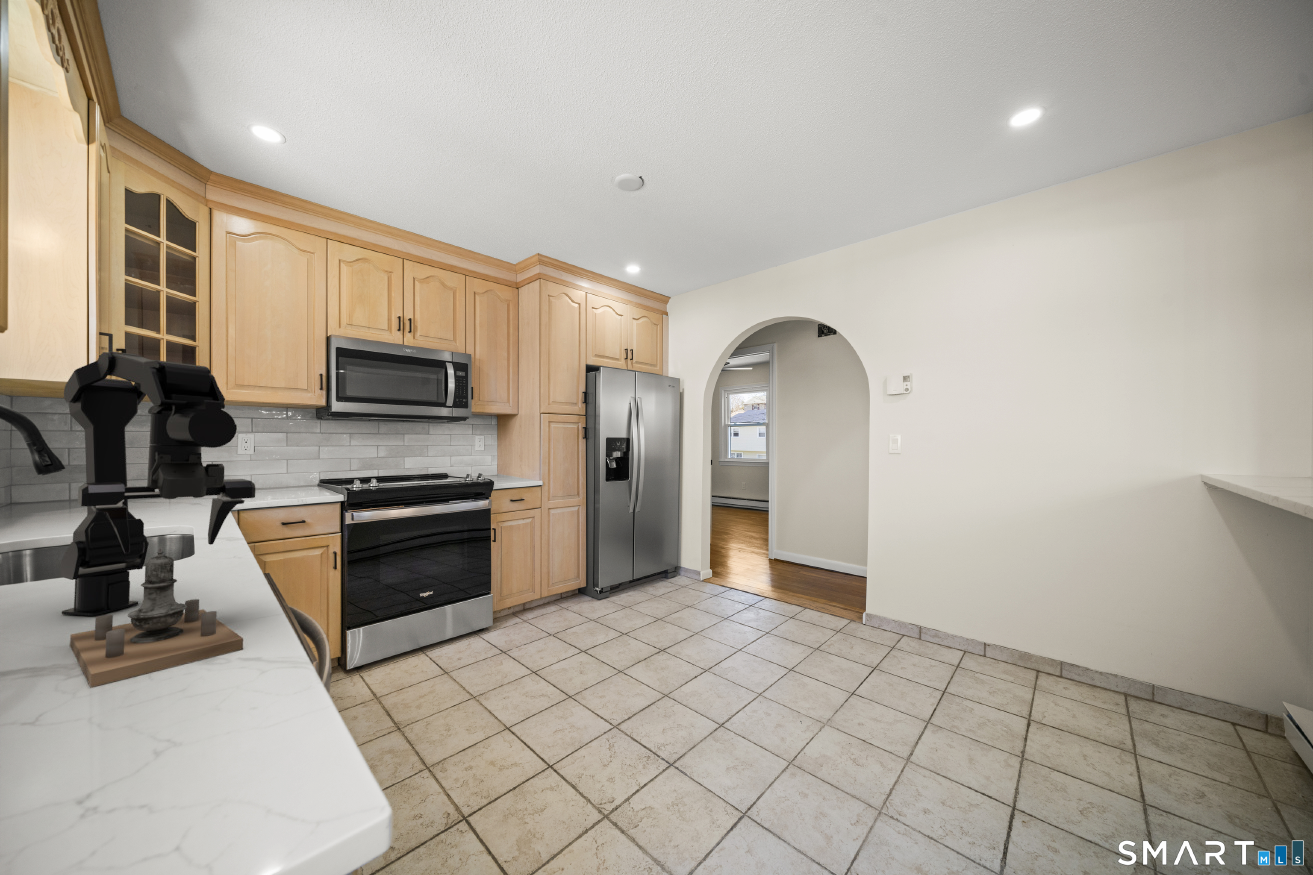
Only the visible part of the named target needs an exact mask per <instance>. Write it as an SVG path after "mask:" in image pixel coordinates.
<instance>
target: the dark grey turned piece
mask: <svg viewBox="0 0 1313 875" xmlns="http://www.w3.org/2000/svg"><path fill="white" fill-rule="evenodd" d="M156 553H157V555H155V556H153V557H151V558H149V559H148V560H147V561H145V563H144V565H145V566H144V582H142V583H141V584H140V587H143V596H142V597H143V598H142V603H141V605H140V606H139V608H137V609H136V610H132V611H130V612H129V613H128V614H127V617H128V618H130V623H132V625H133V627H135V628H136V629H138V630H140V631H144V632H141V633H139V634H137V635H135V636H134V637H132V638H131V639H130V642H131V643H149V642H156V641H161V640H165V639H169V638H172V637H175V636H178V635H180V634H182V633H183V629H181V628H178V627H170V626H173V625H175V624H176V623H177V622H178V621H179V620H180V619H181V618H182V616H183V614H184V613H185V609H186V608H187V605H186V604H185V603H179V602H177V601H176V598H175V595H174V594H175V592H174V591H175V590H174V588H175V583H177V582H178V580H177V579H176V578H174V572H175V571H174V570H175V569H174V568H175V567H174V566H175V560H174V558H173V557H171V556H169V555H165V554H163V553H164V551H163V550H162V549H161V548H160V549H159V550H158V551H157V552H156Z"/></svg>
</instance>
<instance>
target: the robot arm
mask: <svg viewBox="0 0 1313 875" xmlns="http://www.w3.org/2000/svg"><path fill="white" fill-rule="evenodd" d="M108 376H109V377H116V378H118V379H115V378H107V377H108ZM63 396H64V397H63V398H64V401H65V402H66V403H68V410H69V411H68V412H69V415H70V417H71V418H73V420H75V421H76V422H77V423H78V425H79V426H80V427H82V428H83V431H84V445H85V446H84V447H85V448H84V449H85V450H84V452H85V479H86V482H84V483H83V484H81V485H80V486H79V487H78V491H77V504H79V506H80V507H86V510H87V511H86V512H87V514H86V516H85V517H84V519H83V520H82V521H81V522H80V523H79V525H78V526H77V527H76V529H75V530H74V531H73V534H72V541H71V542H70V544H69V545H68V548H66V551H65V554H64V555H63V557H62V559H61V560H60V562H59V573H60V577H61V578H64V579H68V580H72V581H73V580H74V601H73V604H74V605H73V607H72V608H68V609H64V610H62V611H61V614H62V615H69V616H70V615H71V616H74V615H75V616H87V617H89V616H90V617H96V616H101V615H104V614H106V613H110V612H114V611H118V610H122V609H125V608H130V607H133V606H134V607H135V606H137V605H139V604H140V603H139V601H138V600H136V601H135V600H130V597H131V596H130V593H131V590H130V589H131V581H130V571H135V570H138V571H139V570H143V568H144V565H145V563H146V557H147V552H148V547H149V546H150V545H149V544H150V542H149V541H148V539H147V536H146V535H145V533H144V531H145V523H144V522H143V520H142V518H136V517H135V515H134V514H132V513H131V511H130V510H129V500H138V499H140V500H141V499H142V500H143V499H160V498H162V499H165V500H175V499H178V498H194V499H196V498H199V499H200V498H204V497H207V496H209V497H210V496H216V497H215V498H214V497H213V498H212V499H211V500H212V501H211V507H210V516H209V522H208V524H209V525H208V531H207V538H208V539H207V543H208V544H209V545H210V546H211V545H213V544H214V543H215V542H216V539H217V537H218V535H219V532H220V531H221V529H222V526H223V525H224V523H225V520H226V519H227V517H228V516H229V514H230V513H231V512H232V510H234V508H235V507H236V506H237V505H243V504H244V503H245V501H246V500H243V499H255V498H256V485H255V483H254V482H253V481H252V480H250V479H246V478H232V479H231V478H227V479H225V466H224V464H223V463H207V464H206V465H203V462H202V460H203V458H202V448H210V449H214V448H215V449H216V448H221V447H224V446H226V445H227V444H229V443H231V441H232V440H233V439H234V438H235V436H236V434H237V431H238V430H237V428H238V426H237V424H236V422H235V419H234V418H233V416H232V415H231V414H230V413H229V412H227V411H225V408H226V404H225V401H226V398H225V396H224V395H223V393H222V391H221V389H220V387H219V385H218V383H217V380H216V377H215V375H213V374H212V371H211V369H210V368H209V367H207V366H205V365H197V364H196V365H195V364H189V363H180V362H173V361H166V360H158V359H155V360H154V359H149V358H147V357H144V356H142V355H140V354H134V353H126V352H125V353H124V352H119V351H118V352H117V351H108V352H106V351H105V352H102V353H101V354H100V356H99V357H98V358H97V359H96V360H95V361H93V362H90V363H88V364H86V365H83V366H81V367H79V368H76V369H75V370H74V371H73V372H72V374H71V376H70V377H69V378H68V380H67V382H66V383H65V385H64V389H63ZM146 396H147V398H148V399H149V401H150V402H151V404H152V406H150V407H149V409H148V410H147V413H148V415H150V424H149V425H150V426H149V427H150V428H149V446H148V447H149V448H148V466H147V479H146V480H147V481H146V482H147V483H146V485H144V486H142V485H141V486H128V474H127V472H128V471H127V470H128V468H127V448H126V447H127V446H126V444H127V443H126V427H127V426H128V424H130V422H131V421H132V420H133V418H134V417H136V415H137V414H138V410H139V406H140V404H141V403H142V401H143V400H144V399H145V397H146ZM80 568H81V569H80Z"/></svg>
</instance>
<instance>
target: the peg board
mask: <svg viewBox="0 0 1313 875" xmlns="http://www.w3.org/2000/svg"><path fill="white" fill-rule="evenodd" d="M184 604H186V605H187V608H186V609H184V614H183V616H182V618H181V619H180V620H179V621H178V622H177V623H176V624H175V625H173V626H170V627H178V628H181V629H183V633H182V634H180V635H178V636H175V637H172V638H169V639H165V640H161V641H156V642H149V643H131V642H130V639H131V638H132V637H134V636H135V635H137V634H139V633H141V632H144V631H140V630H138V629H136V628H135V627H133V625H132V623H131V622H130V623H124V624H120V625H114V624H113V619H114V615H113V614H111V613H110V614H101V615H97V616H95V621H94V622H95V625H94V629H93V630H92V629H91V630H87V631H82V632H77V633H71V634H70V638H69V639H70V640H69V646H70V648H71V650H72V652H73V654H74V657H75V658H76V661H77V662H78V664H79V667H80V669H81V671H82V673H83V675H84V676H85V679H86V681H87V682H88V684H89V687H90V688H93V687H97V686H98V687H99V686H101V685H106V684H109V683H113V682H118V681H121V680H125V679H126V680H127V679H129V678H130V679H131V678H133V677H138V676H141V675H145V674H149V673H153V672H157V671H162V670H165V669H169V668H174V667H177V666H181V665H185V664H190V663H194V662H198V661H202V660H206V659H209V658H214V657H217V656H221V655H224V654H225V655H226V654H230V653H233V652H237V651H241V650H244V637H242V636H241V635H239V634H238V633H236V632H235V631H234V630H232V629H231V628H230V627H229V626H227V625H225V624H224V623H223V622H221V621H220V620H219V619H218V618H217V613H218V612H217V610H209V611H206V610H205V609H200V599H199V598H195V599H189V600H185V601H184ZM113 625H114V626H113Z"/></svg>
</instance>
